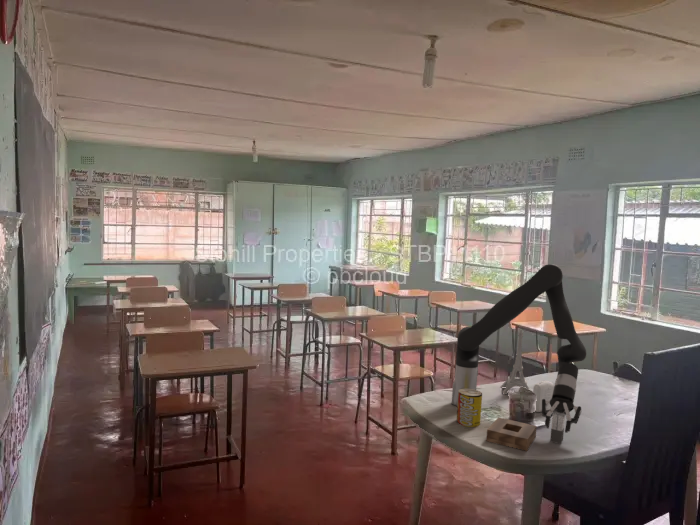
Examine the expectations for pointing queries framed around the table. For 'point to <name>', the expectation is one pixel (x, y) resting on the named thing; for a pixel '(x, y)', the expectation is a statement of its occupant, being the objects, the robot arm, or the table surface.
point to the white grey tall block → (557, 426)
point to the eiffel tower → (512, 379)
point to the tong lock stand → (511, 433)
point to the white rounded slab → (543, 394)
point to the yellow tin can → (469, 407)
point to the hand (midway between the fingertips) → (556, 429)
